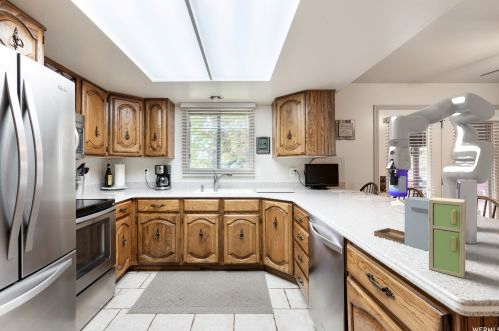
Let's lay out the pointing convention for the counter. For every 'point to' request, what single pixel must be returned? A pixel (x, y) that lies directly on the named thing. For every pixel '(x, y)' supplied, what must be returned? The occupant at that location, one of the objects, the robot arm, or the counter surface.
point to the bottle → (400, 185)
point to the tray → (391, 234)
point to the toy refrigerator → (447, 236)
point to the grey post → (468, 207)
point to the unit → (417, 222)
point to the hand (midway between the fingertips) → (398, 184)
